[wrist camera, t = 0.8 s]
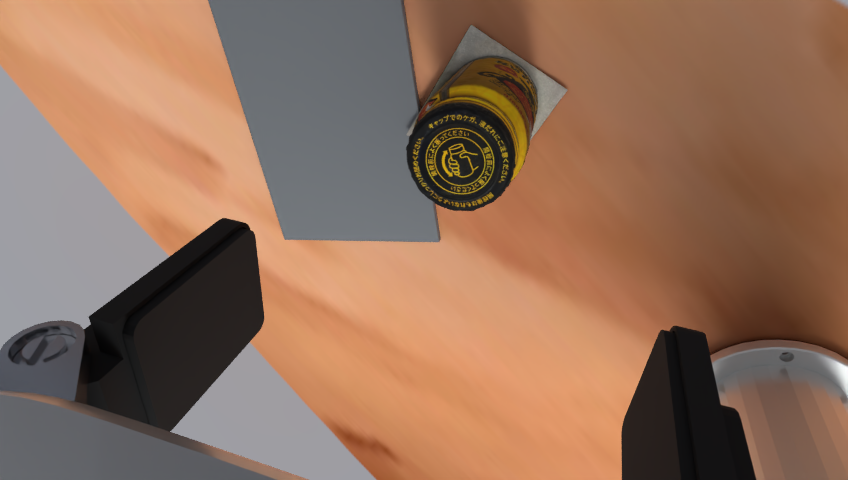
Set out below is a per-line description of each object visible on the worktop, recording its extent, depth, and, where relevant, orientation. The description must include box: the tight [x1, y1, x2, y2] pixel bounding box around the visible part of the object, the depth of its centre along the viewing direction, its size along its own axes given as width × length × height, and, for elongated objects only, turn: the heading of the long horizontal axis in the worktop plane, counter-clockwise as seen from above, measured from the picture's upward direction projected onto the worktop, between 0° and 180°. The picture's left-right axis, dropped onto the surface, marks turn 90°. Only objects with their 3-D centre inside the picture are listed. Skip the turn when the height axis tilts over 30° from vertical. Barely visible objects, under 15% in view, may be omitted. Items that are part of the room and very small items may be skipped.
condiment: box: [406, 25, 567, 211], centre depth 30 cm, size 7×8×12 cm
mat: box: [208, 0, 440, 242], centre depth 39 cm, size 20×14×1 cm
